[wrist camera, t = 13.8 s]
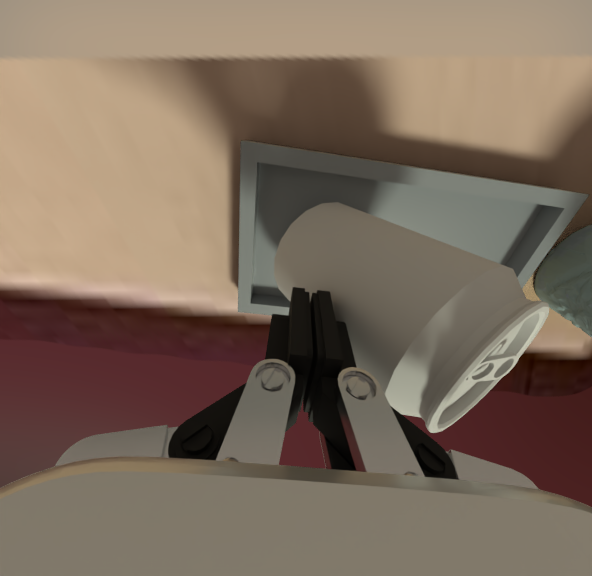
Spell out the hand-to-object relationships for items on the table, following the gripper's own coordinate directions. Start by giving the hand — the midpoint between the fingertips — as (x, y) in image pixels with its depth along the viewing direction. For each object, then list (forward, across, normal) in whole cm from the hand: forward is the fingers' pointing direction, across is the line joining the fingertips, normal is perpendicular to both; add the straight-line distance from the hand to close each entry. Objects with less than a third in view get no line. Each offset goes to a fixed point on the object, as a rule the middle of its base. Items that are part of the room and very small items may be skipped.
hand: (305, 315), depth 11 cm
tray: (+10, -7, 0) cm, 12 cm away
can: (+8, -1, 0) cm, 8 cm away
